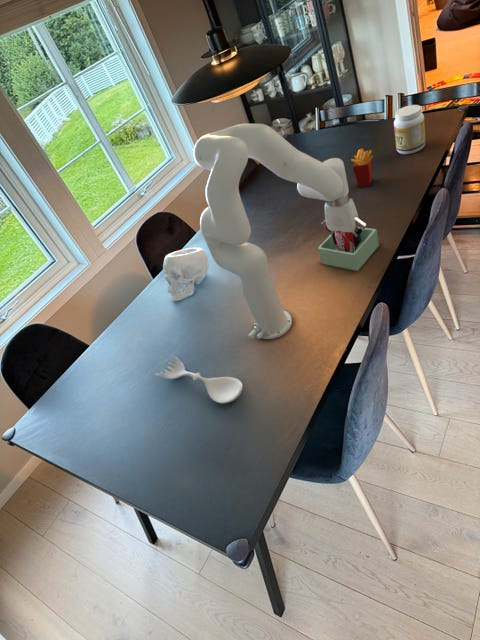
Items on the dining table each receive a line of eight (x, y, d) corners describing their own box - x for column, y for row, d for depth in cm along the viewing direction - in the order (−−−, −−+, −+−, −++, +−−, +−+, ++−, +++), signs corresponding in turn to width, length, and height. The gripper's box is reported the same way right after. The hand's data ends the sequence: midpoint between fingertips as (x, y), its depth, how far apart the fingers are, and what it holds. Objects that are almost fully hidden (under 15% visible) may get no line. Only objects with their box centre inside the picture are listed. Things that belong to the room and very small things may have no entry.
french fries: (355, 188, 180) (349, 155, 170) (359, 178, 185) (353, 146, 175) (377, 185, 176) (372, 151, 166) (379, 175, 181) (375, 142, 171)
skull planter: (157, 298, 168) (153, 251, 161) (195, 287, 181) (193, 243, 174) (178, 306, 159) (175, 257, 152) (217, 294, 172) (216, 248, 165)
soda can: (360, 257, 145) (354, 227, 137) (339, 260, 147) (332, 232, 140) (359, 245, 149) (354, 216, 142) (339, 248, 152) (333, 220, 144)
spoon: (175, 359, 141) (171, 353, 138) (250, 386, 121) (246, 379, 119) (158, 380, 136) (153, 373, 134) (233, 411, 117) (228, 404, 114)
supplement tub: (391, 150, 193) (387, 113, 183) (415, 139, 193) (413, 101, 182) (406, 158, 184) (402, 119, 173) (431, 146, 183) (429, 106, 173)
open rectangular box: (357, 271, 141) (354, 255, 137) (321, 263, 151) (317, 248, 146) (379, 245, 147) (376, 229, 143) (343, 239, 157) (340, 224, 152)
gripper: (309, 203, 138) (320, 247, 149) (357, 205, 127) (366, 252, 138) (320, 191, 142) (330, 234, 153) (368, 192, 131) (375, 238, 142)
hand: (347, 242), depth 146 cm, fingers closed on soda can, 7 cm apart
